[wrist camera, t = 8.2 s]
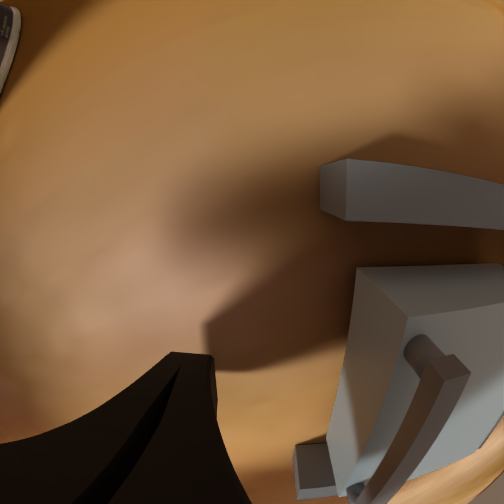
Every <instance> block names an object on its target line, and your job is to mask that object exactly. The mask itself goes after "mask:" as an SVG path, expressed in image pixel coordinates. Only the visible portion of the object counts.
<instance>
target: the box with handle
mask: <svg viewBox="0 0 504 504" xmlns="http://www.w3.org/2000/svg"><path fill="white" fill-rule="evenodd" d="M503 411H504V265H502V264H499V263H483V264H459V265H431V266H397V267H357V270H356V280H355V289H354V297H353V305H352V313H351V320H350V326H349V333H348V339H347V345H346V351H345V356H344V362H343V367H342V372H341V377H340V381H339V386H338V391H337V395H336V399H335V404H334V408H333V412H332V416H331V420H330V424H329V427H328V431H327V435H326V440H327V445H328V449H329V454H330V459H331V464H332V468H333V473H334V478H335V483H336V488H337V493H338V497H344V496H347V497H348V502H349V504H387V503H388V502H389V501H390V499H391V498H392V497H393V496H394V495H395V494H396V493H397V491H398V490H399V489H400V488H401V487H402V485H403V484H404V483H405V482H406V481H408V480H411V479H414V478H417V477H420V476H422V475H425V474H428V473H430V472H433V471H436V470H438V469H440V468H443V467H445V466H447V465H450V464H452V463H454V462H456V461H459V460H461V459H463V458H465V457H467V456H469V455H471V454H473V453H475V452H476V450H477V449H478V448H479V446H480V445H481V444H482V442H483V441H484V440H485V438H486V437H487V435H488V434H489V433H490V431H491V430H492V428H493V427H494V425H495V424H496V422H497V421H498V419H499V417H500V416H501V414H502V413H503Z"/></svg>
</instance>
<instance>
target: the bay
mask: <svg viewBox="0 0 504 504" xmlns="http://www.w3.org/2000/svg"><path fill="white" fill-rule="evenodd" d="M319 209H321V210H323V211H325V212H327V213H330V214H332V215H334V216H336V217H338V218H340V219H342V220H345V221H364V222H390V223H411V224H429V225H446V226H460V227H474V228H486V229H498V230H504V184H500V183H496V182H492V181H488V180H484V179H479V178H475V177H470V176H466V175H461V174H456V173H451V172H446V171H440V170H434V169H428V168H422V167H416V166H409V165H402V164H394V163H386V162H377V161H368V160H357V159H343V160H339V161H336V162H332V163H328V164H325V165H321V166H320V195H319ZM503 415H504V411H503V413H502V414H501V416H500V417H499V419H498V421H497V422H496V424H495V425H494V427H493V428H492V430H491V431H490V433H489V434H488V435H487V437H486V438H485V440H484V441H483V442H482V444H481V445H480V446H479V448H481V447H482V445H483V444H484V443H485V441H486V440H487V439H488V437H489V436H490V435H491V433H492V432H493V430H494V429H495V427H496V426H497V424H498V423H499V421H500V420H501V418H502V417H503ZM479 448H478V449H479ZM293 465H294V477H295V488H296V500H303V499H314V498H322V497H330V496H336V495H338V493H337V488H336V483H335V478H334V473H333V468H332V464H331V459H330V454H329V449H328V445H327V443H320V444H308V445H295V450H294V455H293Z"/></svg>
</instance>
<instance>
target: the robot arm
mask: <svg viewBox="0 0 504 504" xmlns="http://www.w3.org/2000/svg"><path fill="white" fill-rule="evenodd" d="M217 402H218V398H217V388H216V377H215V365H214V358H213V357H212V356H211V355H207V354H193V353H181V352H170V353H169V354H168V355H166V356H165V357H164V358H163V359H162V360H160V361H159V362H158V363H157V364H156V365H155V366H153V367H152V368H151V369H150V370H149V371H147V372H146V373H145V374H144V375H142V376H141V377H140V378H139V379H137V380H136V381H135V382H134V383H132V384H131V385H130V386H128V387H127V388H126V389H124V390H123V391H121V392H120V393H119V394H117V395H116V396H114V397H113V398H111V399H110V400H108V401H107V402H106V403H104V404H103V405H101V406H99V407H98V408H96V409H94V410H93V411H91V412H89V413H87V414H85V415H84V416H82V417H80V418H78V419H76V420H74V421H72V422H70V423H68V424H65V425H63V426H60V427H58V428H55V429H53V430H50V431H48V432H45V433H42V434H39V435H36V436H33V437H29V438H26V439H22V440H18V441H13V442H8V443H3V444H0V504H252V503H251V501H250V499H249V498H248V496H247V494H246V492H245V490H244V488H243V486H242V484H241V482H240V480H239V478H238V476H237V474H236V472H235V470H234V468H233V465H232V463H231V461H230V458H229V456H228V453H227V451H226V448H225V445H224V442H223V439H222V436H221V433H220V430H219V426H218V422H217Z"/></svg>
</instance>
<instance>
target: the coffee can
mask: <svg viewBox="0 0 504 504" xmlns="http://www.w3.org/2000/svg"><path fill="white" fill-rule="evenodd" d="M21 24H22V23H21V14H20V12H19V10H18V9H17V8H15V7H12V6H9V5H6V4H4V3H2V2H0V95H1V91H2V88H3V85H4V83H5V81H6V78H7V75H8V73H9V69H10V67H11V64H12V61H13V58H14V54H15V51H16V48H17V44H18V40H19V36H20V30H21Z"/></svg>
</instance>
